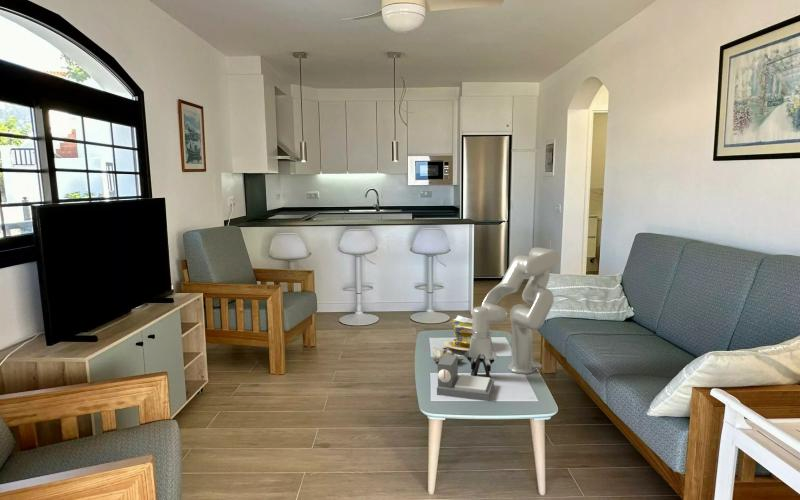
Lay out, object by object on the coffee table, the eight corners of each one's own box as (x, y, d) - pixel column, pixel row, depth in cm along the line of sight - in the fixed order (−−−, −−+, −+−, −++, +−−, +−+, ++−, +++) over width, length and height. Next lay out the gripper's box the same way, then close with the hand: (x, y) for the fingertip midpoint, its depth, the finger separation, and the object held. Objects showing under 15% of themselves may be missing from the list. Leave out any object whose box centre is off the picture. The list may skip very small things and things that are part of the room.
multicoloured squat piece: (456, 338, 274) (456, 310, 272) (496, 346, 260) (496, 316, 258) (434, 351, 254) (434, 321, 252) (476, 360, 240) (476, 328, 238)
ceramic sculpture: (438, 341, 244) (464, 348, 235) (438, 357, 245) (463, 364, 237) (427, 347, 235) (453, 354, 226) (427, 363, 237) (453, 371, 228)
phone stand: (489, 375, 221) (489, 350, 219) (491, 380, 215) (491, 355, 213) (470, 374, 221) (470, 350, 220) (471, 380, 216) (471, 355, 214)
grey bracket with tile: (494, 385, 209) (494, 357, 208) (488, 401, 194) (488, 370, 193) (445, 379, 217) (445, 352, 215) (436, 394, 202) (436, 365, 200)
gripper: (501, 333, 216) (500, 370, 218) (463, 330, 222) (464, 366, 224) (498, 338, 209) (498, 376, 211) (460, 335, 215) (460, 372, 217)
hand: (480, 371), depth 218 cm, fingers open, 6 cm apart
